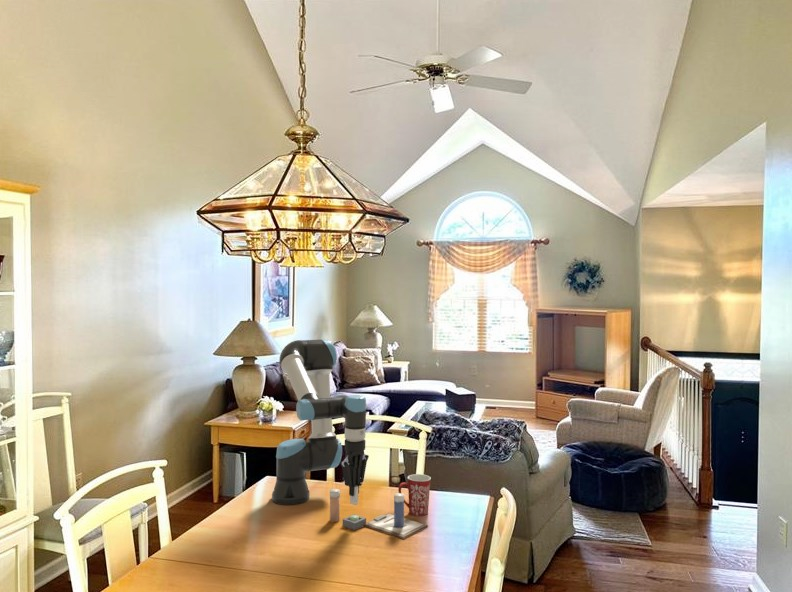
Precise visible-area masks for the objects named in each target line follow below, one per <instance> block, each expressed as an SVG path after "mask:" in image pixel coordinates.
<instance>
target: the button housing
mask: <svg viewBox="0 0 792 592" xmlns="http://www.w3.org/2000/svg"><path fill="white" fill-rule="evenodd" d="M352 515H353V514H352ZM352 515H350V516H352ZM356 515H357V516H359V520H358V521H355V522H354V521H351V520H350V516H349V515H348V516H347V517H344V518H342V526H343V527H344V528H347V529H349V530H353V531H356V530H359V529H361V528H363V527H365V526H364V524H365V523H367V518H366V517H364V516H360V515H358V514H356Z"/></svg>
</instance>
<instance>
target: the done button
mask: <svg viewBox="0 0 792 592" xmlns="http://www.w3.org/2000/svg"><path fill="white" fill-rule="evenodd" d="M357 515H358V514H352V516H351V515H350V520H351V521H354V522H355V521H358V520H359V516H360V515H358V516H357Z"/></svg>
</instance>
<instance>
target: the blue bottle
mask: <svg viewBox="0 0 792 592" xmlns="http://www.w3.org/2000/svg"><path fill="white" fill-rule="evenodd" d="M404 500H405V494H404V493H403V492H401V493H399V492H397V493H394V494H393V503H394V505H393V506H394V507H393V514H394V527H397V528H401V527H404V518H405V503H404Z"/></svg>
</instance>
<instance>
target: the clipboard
mask: <svg viewBox="0 0 792 592" xmlns="http://www.w3.org/2000/svg"><path fill="white" fill-rule="evenodd" d="M428 526H429V525H428V524H426V523H423V522H421V521H417V520H415V519H414V520H413V519H412V518H411V519H410V518H407V517H404V527H401V528H397V527H394V513H390V512H388V513H386V514H381V515H378V516H375V518H374V517H373V519H372V520H369V521H368V522H367V521H366V523H365V524H364V526H363V527H366V528H369V529H372V530H375V531H379V532H381V533H384V534H387V535H390V536H393V537H395V538H399V539H402V540H405V539H407V538H408V537H409V538H410V536H412V535H414V534H416V533H417V534H418V532H420V531H422V530H424V529H427V528H428Z"/></svg>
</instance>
